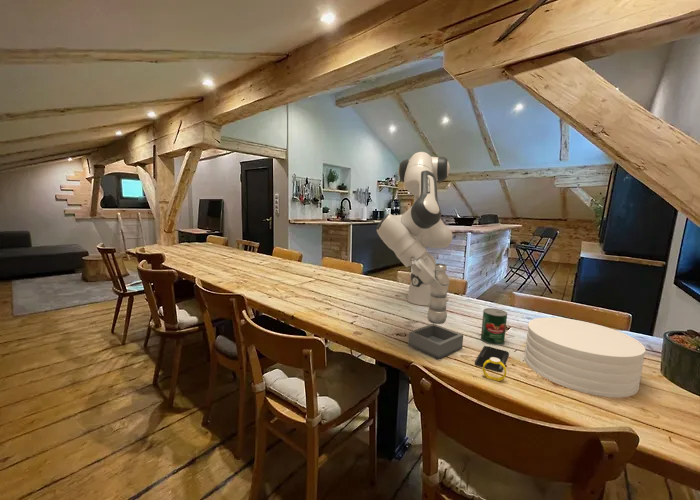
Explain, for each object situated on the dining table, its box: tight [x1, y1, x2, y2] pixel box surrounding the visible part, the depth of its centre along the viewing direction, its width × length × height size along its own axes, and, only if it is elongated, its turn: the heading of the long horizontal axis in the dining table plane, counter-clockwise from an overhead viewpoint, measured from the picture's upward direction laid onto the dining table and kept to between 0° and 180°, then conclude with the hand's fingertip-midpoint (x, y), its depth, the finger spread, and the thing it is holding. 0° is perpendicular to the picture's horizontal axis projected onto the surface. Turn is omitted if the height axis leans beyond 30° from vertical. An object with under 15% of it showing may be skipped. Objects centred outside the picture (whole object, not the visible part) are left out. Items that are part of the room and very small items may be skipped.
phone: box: [474, 345, 510, 373], centre depth 100 cm, size 8×1×15 cm
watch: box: [482, 357, 507, 382], centre depth 88 cm, size 6×3×6 cm, turn 62°
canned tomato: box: [480, 307, 508, 346], centre depth 113 cm, size 8×8×11 cm
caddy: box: [407, 323, 464, 361], centre depth 107 cm, size 13×12×5 cm
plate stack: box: [523, 317, 646, 398], centre depth 94 cm, size 28×28×12 cm
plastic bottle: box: [426, 263, 450, 325], centre depth 105 cm, size 6×7×20 cm
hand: (441, 286), depth 104 cm, fingers closed on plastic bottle, 6 cm apart
